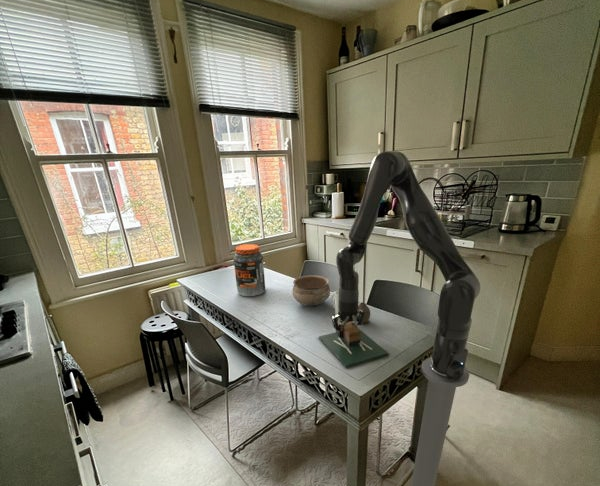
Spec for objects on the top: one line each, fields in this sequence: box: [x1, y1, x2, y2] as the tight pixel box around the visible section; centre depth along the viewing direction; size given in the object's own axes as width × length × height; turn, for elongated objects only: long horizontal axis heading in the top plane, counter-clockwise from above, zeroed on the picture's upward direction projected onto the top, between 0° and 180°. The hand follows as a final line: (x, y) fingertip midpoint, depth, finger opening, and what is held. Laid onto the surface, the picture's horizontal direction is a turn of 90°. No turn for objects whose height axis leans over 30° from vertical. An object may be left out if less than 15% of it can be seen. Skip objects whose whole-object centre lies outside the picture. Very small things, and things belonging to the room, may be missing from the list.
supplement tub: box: [233, 243, 266, 297], centre depth 172 cm, size 16×16×26 cm
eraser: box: [335, 320, 362, 346], centre depth 126 cm, size 11×5×6 cm, turn 22°
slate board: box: [318, 328, 389, 369], centre depth 123 cm, size 22×18×1 cm
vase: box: [355, 302, 371, 324], centre depth 140 cm, size 7×7×9 cm
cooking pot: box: [291, 275, 331, 308], centre depth 158 cm, size 25×19×12 cm
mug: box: [330, 289, 340, 320], centre depth 146 cm, size 10×7×12 cm, turn 41°
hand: (347, 336), depth 127 cm, fingers closed on eraser, 5 cm apart
